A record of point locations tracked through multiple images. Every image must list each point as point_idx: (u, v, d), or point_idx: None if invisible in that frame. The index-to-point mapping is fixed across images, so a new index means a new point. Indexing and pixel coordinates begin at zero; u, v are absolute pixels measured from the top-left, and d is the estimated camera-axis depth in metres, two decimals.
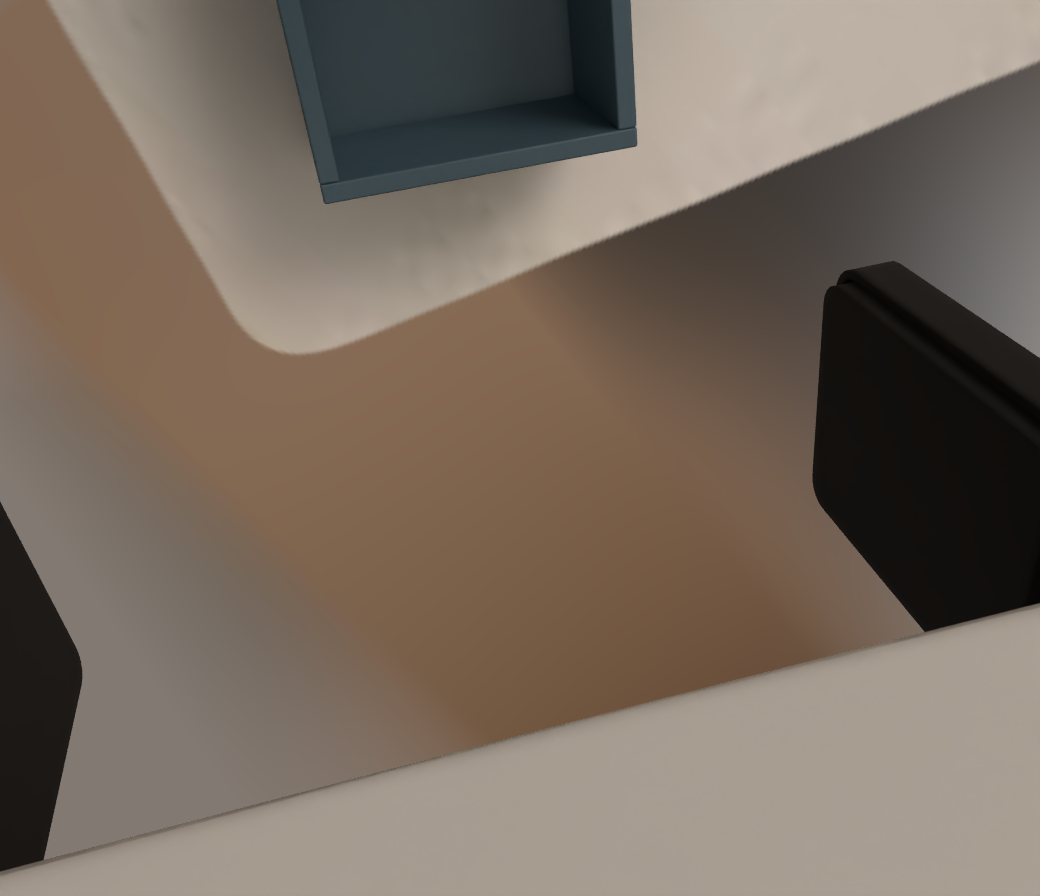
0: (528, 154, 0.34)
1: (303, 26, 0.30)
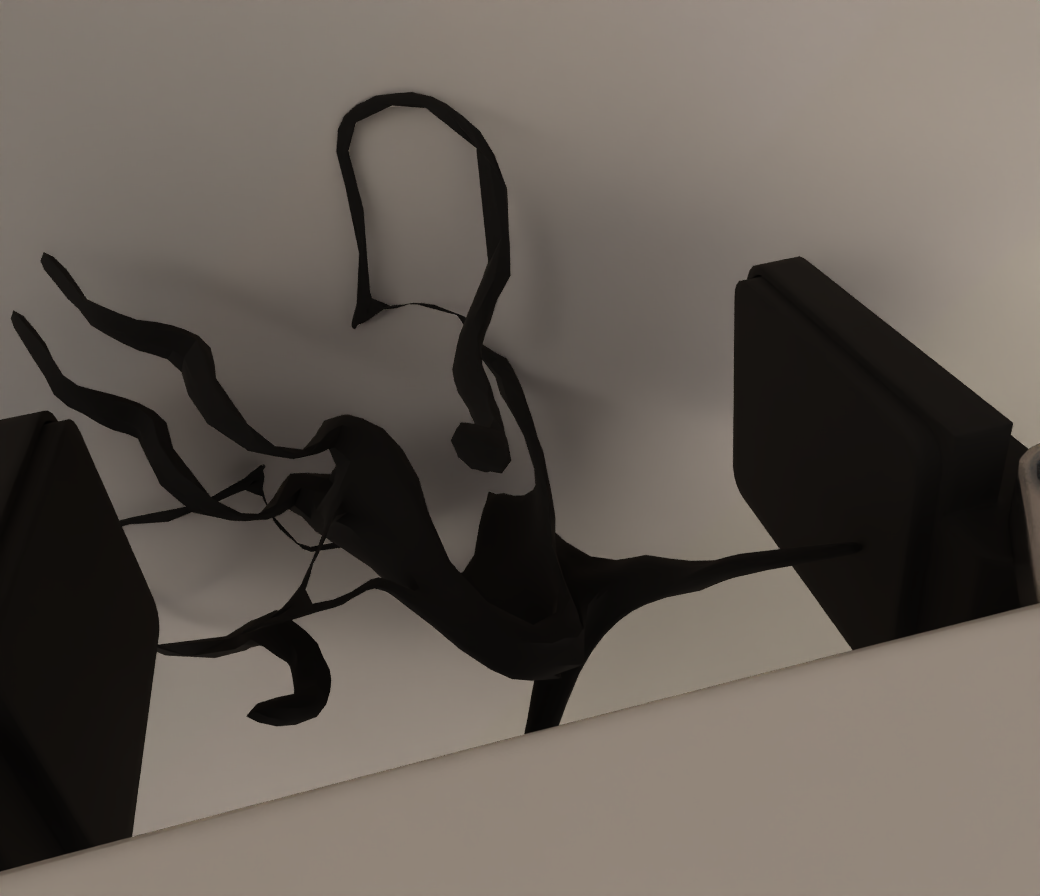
0: None
1: None
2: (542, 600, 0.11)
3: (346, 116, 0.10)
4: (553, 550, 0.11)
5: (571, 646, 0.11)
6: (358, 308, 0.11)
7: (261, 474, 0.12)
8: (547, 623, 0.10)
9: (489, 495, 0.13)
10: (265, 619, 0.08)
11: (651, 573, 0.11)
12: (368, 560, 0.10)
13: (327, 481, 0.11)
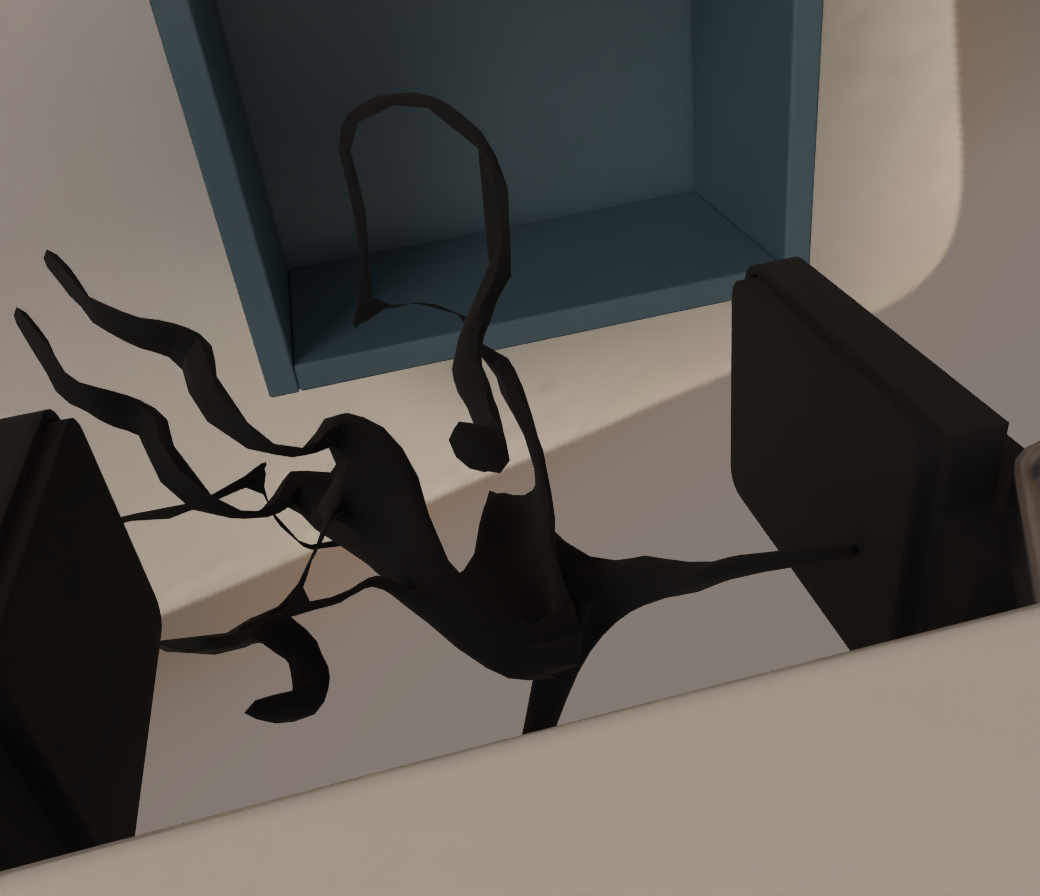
0: None
1: (586, 307, 0.23)
2: (540, 599, 0.11)
3: (348, 116, 0.10)
4: (552, 550, 0.11)
5: (569, 646, 0.11)
6: (360, 307, 0.11)
7: (262, 472, 0.12)
8: (545, 623, 0.10)
9: (490, 494, 0.13)
10: (262, 617, 0.08)
11: (650, 574, 0.11)
12: (367, 559, 0.10)
13: (327, 479, 0.11)
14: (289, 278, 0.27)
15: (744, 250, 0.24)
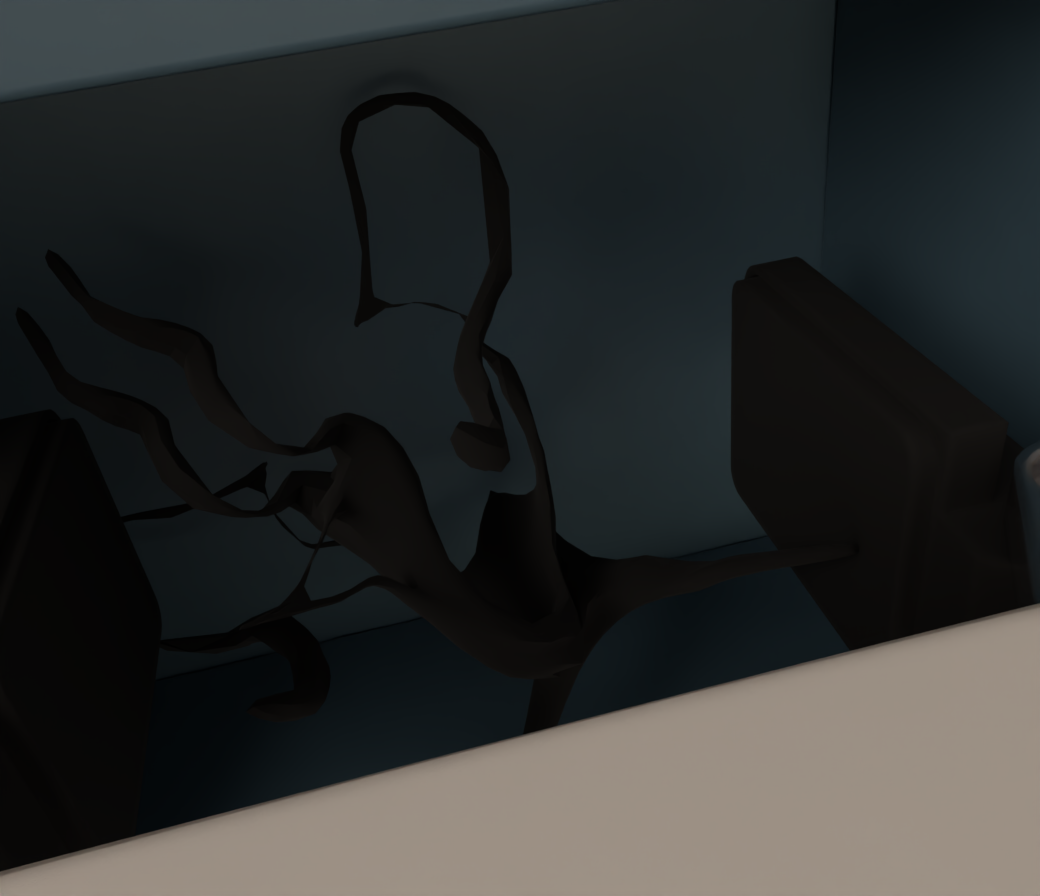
0: None
1: None
2: (541, 598, 0.11)
3: (349, 115, 0.10)
4: (553, 549, 0.11)
5: (570, 645, 0.11)
6: (361, 307, 0.11)
7: (263, 471, 0.12)
8: (546, 622, 0.10)
9: (490, 494, 0.13)
10: (263, 615, 0.08)
11: (651, 573, 0.11)
12: (368, 558, 0.10)
13: (328, 479, 0.11)
14: None
15: None
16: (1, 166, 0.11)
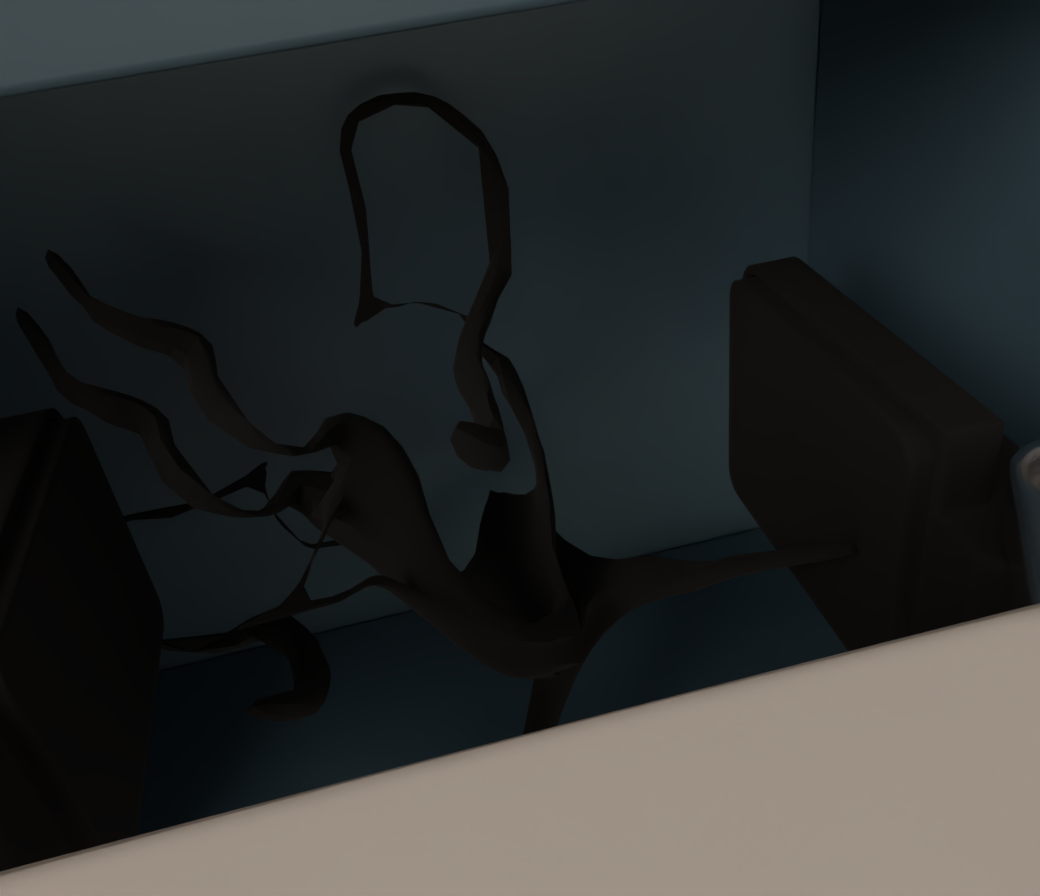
0: None
1: None
2: (541, 599, 0.11)
3: (349, 115, 0.10)
4: (553, 549, 0.11)
5: (570, 645, 0.11)
6: (361, 307, 0.11)
7: (263, 471, 0.12)
8: (546, 622, 0.10)
9: (490, 494, 0.13)
10: (263, 615, 0.08)
11: (651, 573, 0.11)
12: (368, 558, 0.10)
13: (328, 479, 0.11)
14: None
15: None
16: None
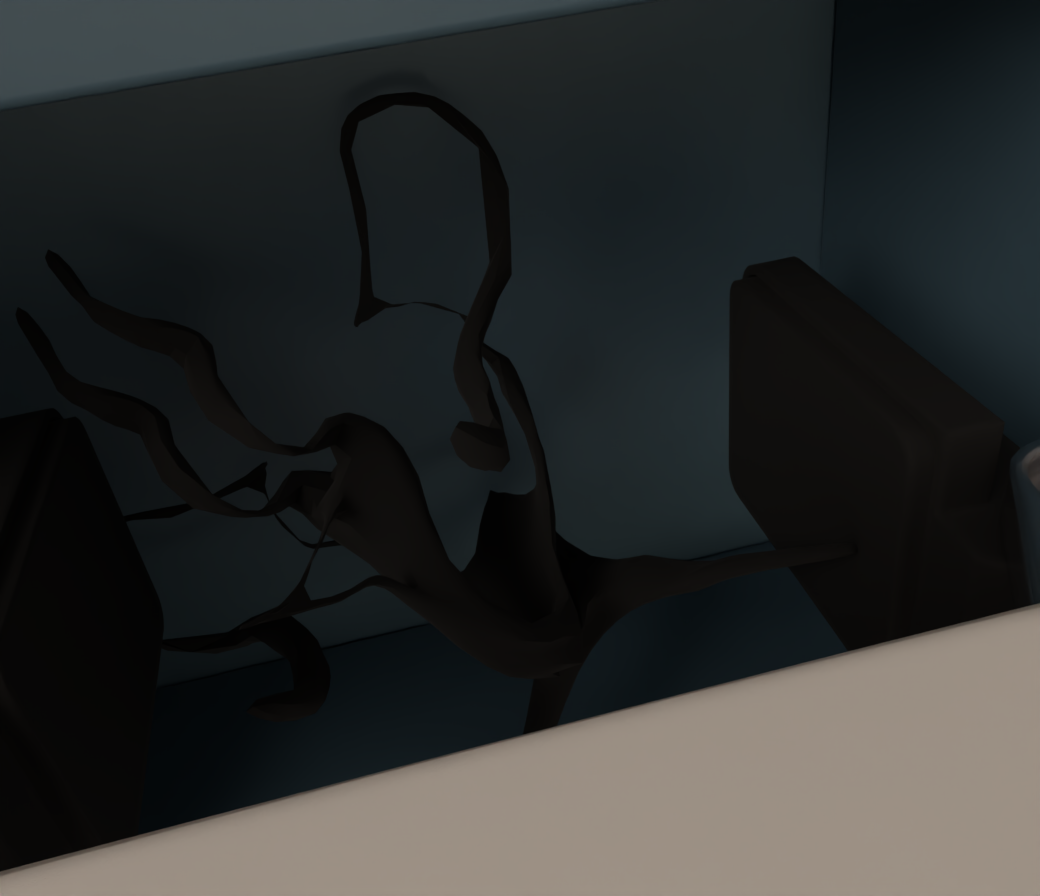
0: None
1: None
2: (541, 598, 0.11)
3: (349, 115, 0.10)
4: (553, 549, 0.11)
5: (570, 645, 0.11)
6: (361, 307, 0.11)
7: (263, 471, 0.12)
8: (546, 622, 0.10)
9: (490, 494, 0.13)
10: (263, 615, 0.08)
11: (650, 573, 0.11)
12: (368, 557, 0.10)
13: (328, 478, 0.11)
14: None
15: None
16: None
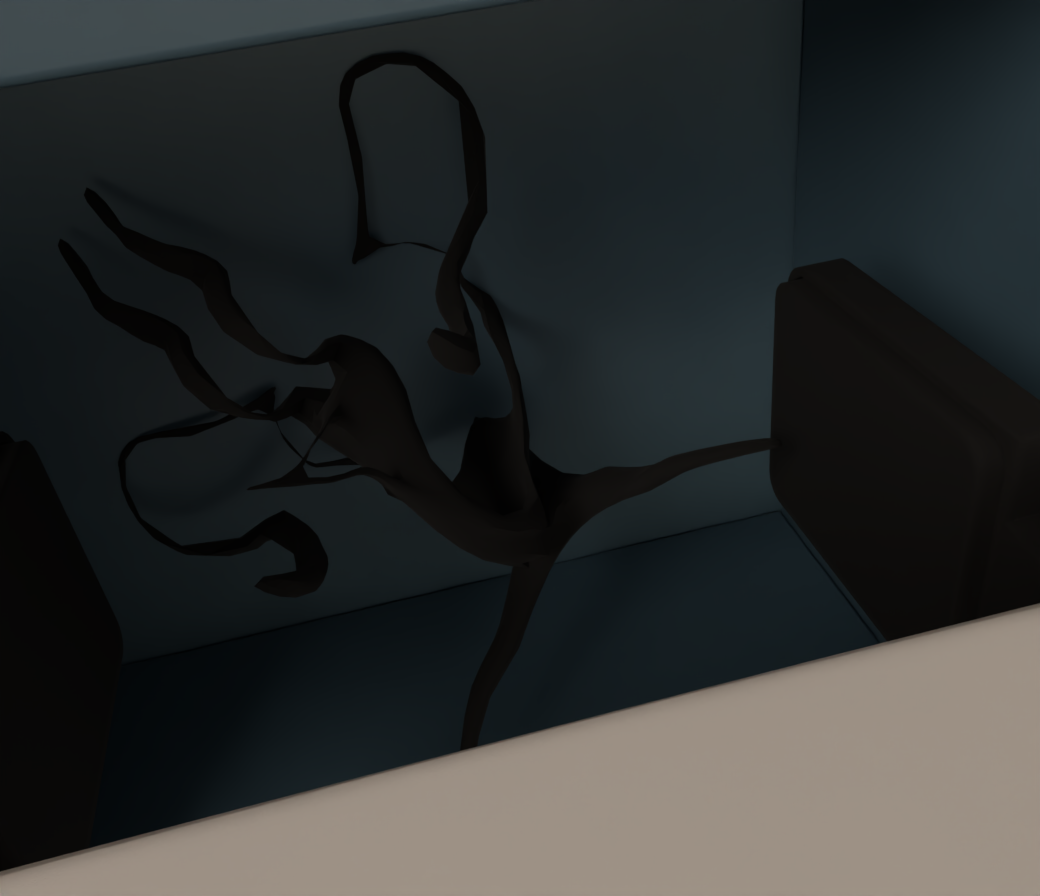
0: None
1: None
2: (514, 501, 0.13)
3: (347, 73, 0.12)
4: (525, 458, 0.13)
5: (537, 538, 0.12)
6: (358, 246, 0.13)
7: (272, 395, 0.14)
8: (515, 515, 0.12)
9: (475, 420, 0.15)
10: (267, 482, 0.10)
11: (611, 479, 0.13)
12: (361, 459, 0.12)
13: (328, 394, 0.12)
14: None
15: None
16: (0, 156, 0.12)
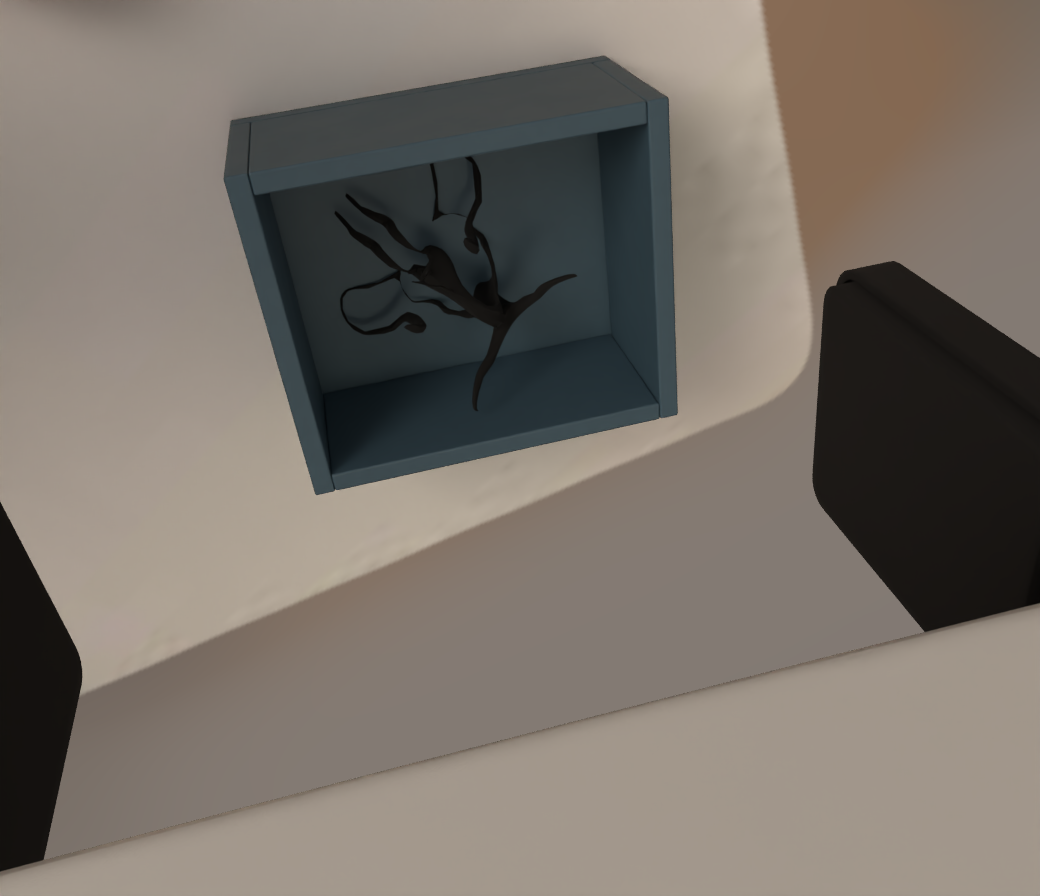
0: (659, 227, 0.31)
1: (525, 433, 0.34)
2: (491, 306, 0.35)
3: None
4: (495, 290, 0.35)
5: (499, 316, 0.35)
6: (434, 214, 0.35)
7: (400, 272, 0.36)
8: (491, 306, 0.34)
9: (477, 284, 0.37)
10: (416, 281, 0.32)
11: (526, 297, 0.35)
12: (438, 287, 0.34)
13: (425, 267, 0.35)
14: (324, 401, 0.38)
15: (635, 389, 0.36)
16: None
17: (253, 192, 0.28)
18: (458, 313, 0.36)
